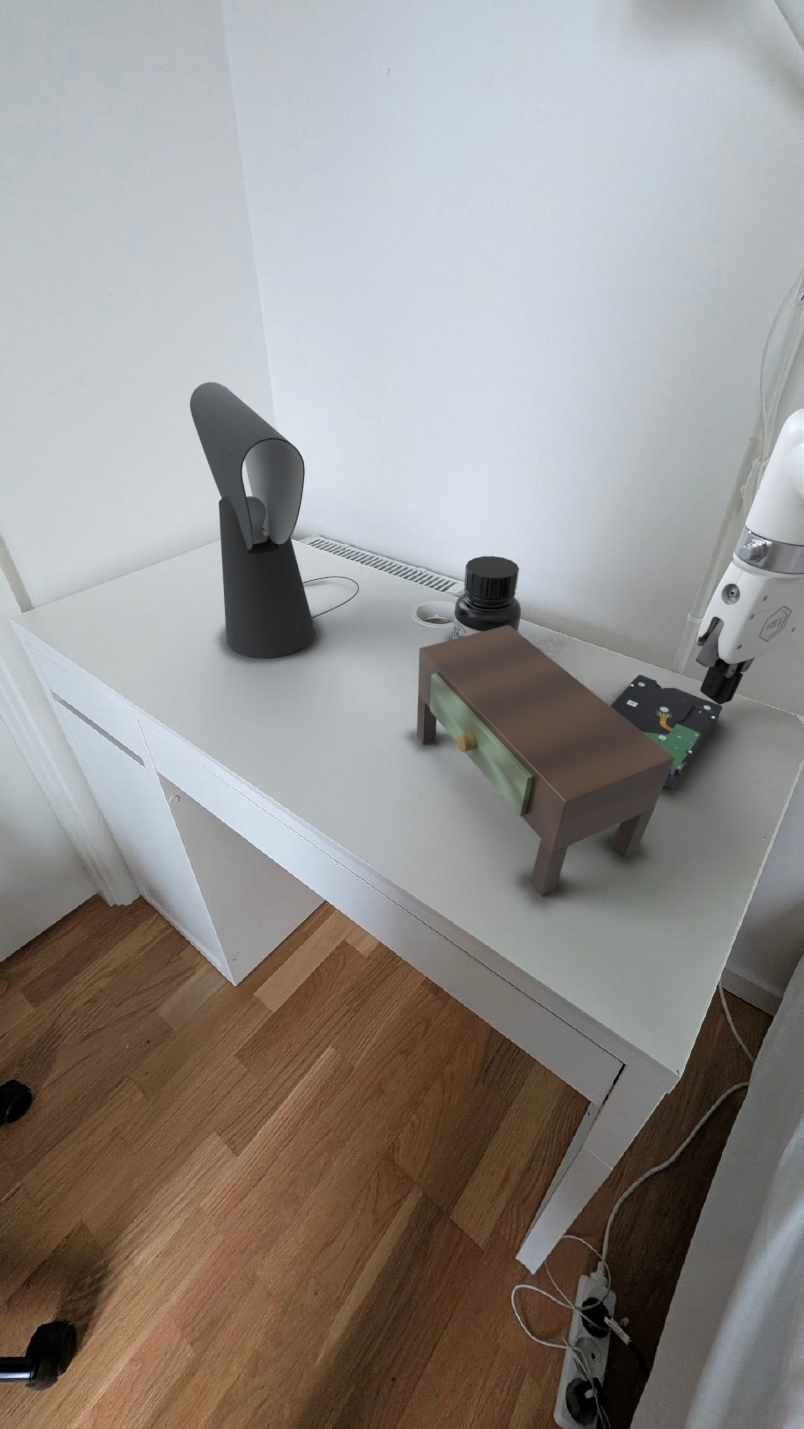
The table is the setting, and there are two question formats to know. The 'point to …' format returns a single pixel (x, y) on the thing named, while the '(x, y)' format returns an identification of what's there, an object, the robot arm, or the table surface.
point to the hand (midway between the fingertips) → (714, 696)
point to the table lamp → (255, 525)
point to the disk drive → (668, 720)
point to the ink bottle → (487, 597)
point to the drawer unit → (541, 743)
